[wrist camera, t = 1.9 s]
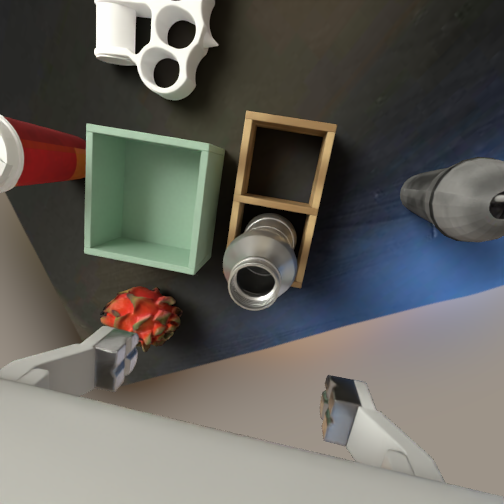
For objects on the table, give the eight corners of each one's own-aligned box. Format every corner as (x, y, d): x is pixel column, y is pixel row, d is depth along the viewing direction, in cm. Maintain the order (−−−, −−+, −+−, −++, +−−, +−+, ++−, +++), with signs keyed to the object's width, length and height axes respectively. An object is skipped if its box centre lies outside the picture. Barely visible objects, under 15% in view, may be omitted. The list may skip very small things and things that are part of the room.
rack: (251, 118, 38) (246, 110, 33) (331, 131, 37) (337, 124, 32) (230, 262, 43) (222, 273, 38) (299, 275, 42) (301, 288, 37)
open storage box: (124, 132, 40) (86, 123, 32) (225, 149, 39) (209, 143, 31) (119, 239, 44) (83, 253, 36) (210, 257, 43) (194, 275, 35)
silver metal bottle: (291, 261, 41) (293, 336, 22) (243, 253, 42) (203, 319, 23) (300, 214, 40) (309, 252, 20) (249, 206, 40) (212, 236, 21)
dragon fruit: (199, 311, 47) (131, 298, 50) (184, 279, 40) (107, 266, 43) (176, 365, 42) (102, 347, 44) (155, 339, 35) (70, 319, 38)
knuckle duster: (107, -83, 34) (234, -73, 33) (105, 92, 39) (216, 106, 38) (88, -110, 31) (228, -100, 30) (88, 84, 36) (210, 99, 34)
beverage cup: (410, 234, 39) (530, 293, 19) (376, 189, 38) (465, 205, 19) (463, 196, 37) (653, 221, 18) (429, 148, 36) (588, 120, 17)
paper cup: (40, 139, 41) (-80, 122, 28) (87, 119, 40) (-15, 91, 27) (65, 194, 43) (-37, 204, 30) (111, 177, 42) (26, 178, 28)
